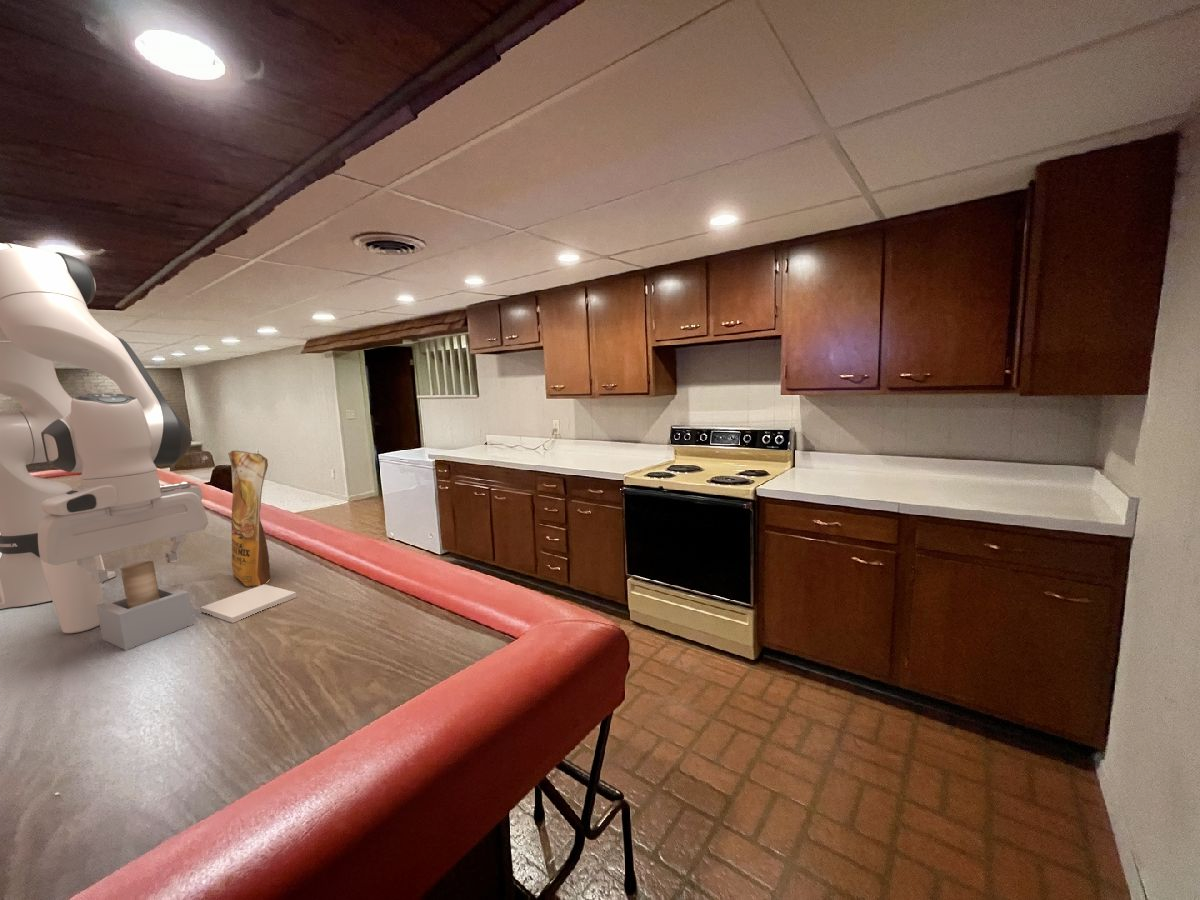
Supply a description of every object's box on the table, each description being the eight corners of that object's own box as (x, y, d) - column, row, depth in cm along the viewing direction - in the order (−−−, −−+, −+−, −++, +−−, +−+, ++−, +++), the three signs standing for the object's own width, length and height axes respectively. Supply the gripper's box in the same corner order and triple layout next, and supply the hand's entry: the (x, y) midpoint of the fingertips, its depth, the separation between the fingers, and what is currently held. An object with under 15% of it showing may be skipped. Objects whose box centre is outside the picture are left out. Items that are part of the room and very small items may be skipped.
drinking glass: (74, 638, 80) (57, 553, 78) (45, 636, 81) (27, 552, 79) (121, 619, 87) (106, 540, 85) (93, 617, 88) (78, 539, 86)
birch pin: (128, 634, 80) (116, 567, 79) (158, 624, 84) (147, 559, 82) (139, 639, 79) (126, 570, 77) (169, 628, 82) (157, 562, 80)
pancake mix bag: (262, 563, 113) (245, 448, 110) (286, 581, 101) (268, 452, 97) (227, 572, 108) (208, 452, 105) (248, 592, 96) (227, 457, 92)
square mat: (201, 612, 88) (200, 607, 88) (264, 588, 98) (264, 584, 97) (233, 623, 83) (232, 617, 83) (296, 597, 93) (296, 592, 92)
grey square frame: (102, 639, 79) (95, 605, 78) (169, 615, 87) (164, 584, 86) (125, 650, 75) (118, 614, 74) (194, 624, 83) (188, 591, 82)
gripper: (191, 478, 89) (203, 549, 90) (24, 505, 70) (43, 592, 72) (208, 479, 86) (220, 553, 87) (39, 507, 68) (59, 598, 69)
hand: (139, 571), depth 80 cm, fingers open, 8 cm apart
